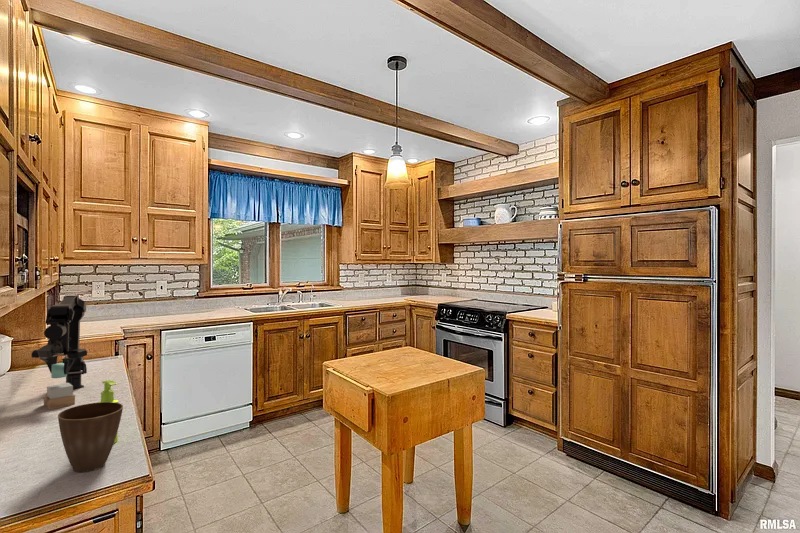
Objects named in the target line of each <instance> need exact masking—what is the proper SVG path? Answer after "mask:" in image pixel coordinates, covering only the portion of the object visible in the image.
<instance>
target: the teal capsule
mask: <svg viewBox="0 0 800 533" xmlns="http://www.w3.org/2000/svg"><path fill="white" fill-rule="evenodd" d="M50 374H51V375H50V376H51V379H62V378H66V376H67V374H66V375H65V374H64V363H63V362H61V363H60V362H59V363H56V364H53V365H52V371H51V372H50Z"/></svg>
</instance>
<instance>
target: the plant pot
mask: <svg viewBox="0 0 800 533" xmlns="http://www.w3.org/2000/svg"><path fill="white" fill-rule="evenodd" d="M123 409H124V405H123V404H122V403H120V402H118V403H116V402H100V401H98V402H92V403H84V404H80V405H76V406H72V407H69V408H66V409H64V410H63V411H60V412H59V413H58V414H57V419H58V426H59V432H60V436H61V441H62V444H63V447H64V452H65V454H66V456H67V460H68V462H69V463H70V466H71V468H72V470H73V471H74V472H77V473H87V472H91V471H95V470H99V469H100V468H102V467H103V465H104V466H105V465H106V463H107V461H108V459H109V457H110V454H111V451H112V449H113V446H114V444H115V443H114V441H115V438H116V435H117V431H119V427H120V423H121V420H122V419H121V418H122V414H123ZM117 436H118V435H117Z"/></svg>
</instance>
